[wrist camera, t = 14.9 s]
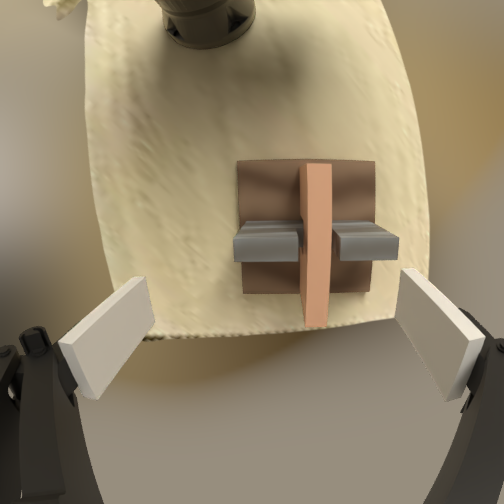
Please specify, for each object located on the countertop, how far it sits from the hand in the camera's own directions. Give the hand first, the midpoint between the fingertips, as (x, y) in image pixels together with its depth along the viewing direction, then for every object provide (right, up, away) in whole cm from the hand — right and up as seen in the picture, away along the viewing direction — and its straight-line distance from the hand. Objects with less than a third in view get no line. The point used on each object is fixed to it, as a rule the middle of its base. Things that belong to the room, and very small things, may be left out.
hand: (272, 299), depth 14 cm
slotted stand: (+7, +6, +29) cm, 30 cm away
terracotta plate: (+7, +6, +27) cm, 29 cm away
